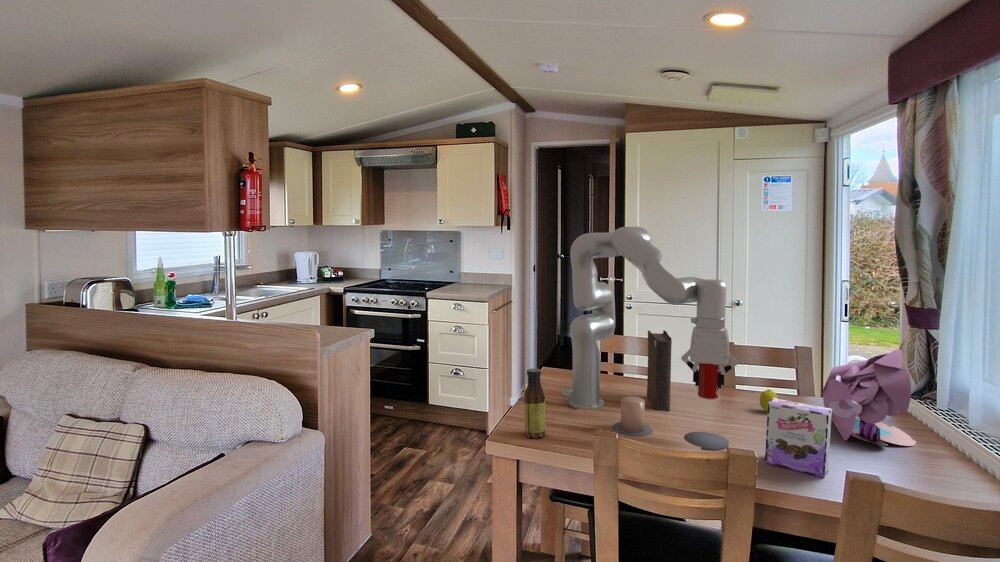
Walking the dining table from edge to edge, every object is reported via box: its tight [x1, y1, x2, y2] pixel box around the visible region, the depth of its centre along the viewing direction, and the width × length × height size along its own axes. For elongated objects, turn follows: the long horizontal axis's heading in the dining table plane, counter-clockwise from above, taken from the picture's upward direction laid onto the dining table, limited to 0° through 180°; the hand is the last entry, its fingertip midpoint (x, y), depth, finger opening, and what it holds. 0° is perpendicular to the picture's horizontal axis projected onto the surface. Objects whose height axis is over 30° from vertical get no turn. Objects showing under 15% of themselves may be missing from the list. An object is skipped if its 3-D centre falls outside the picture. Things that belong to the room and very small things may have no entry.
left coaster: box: [611, 421, 654, 438], centre depth 161 cm, size 12×12×1 cm
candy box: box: [764, 398, 832, 478], centre depth 136 cm, size 14×6×16 cm, turn 50°
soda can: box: [697, 364, 720, 401], centre depth 151 cm, size 6×6×12 cm
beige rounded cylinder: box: [620, 395, 646, 433], centre depth 161 cm, size 7×7×9 cm
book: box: [646, 329, 673, 412], centre depth 184 cm, size 17×7×25 cm, turn 167°
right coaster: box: [683, 431, 730, 451], centre depth 153 cm, size 12×12×1 cm
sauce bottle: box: [523, 368, 547, 439], centre depth 157 cm, size 6×6×20 cm
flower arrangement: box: [821, 348, 917, 447], centre depth 157 cm, size 35×24×28 cm
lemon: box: [759, 388, 779, 413], centre depth 176 cm, size 6×6×8 cm
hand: (708, 385), depth 151 cm, fingers closed on soda can, 5 cm apart
